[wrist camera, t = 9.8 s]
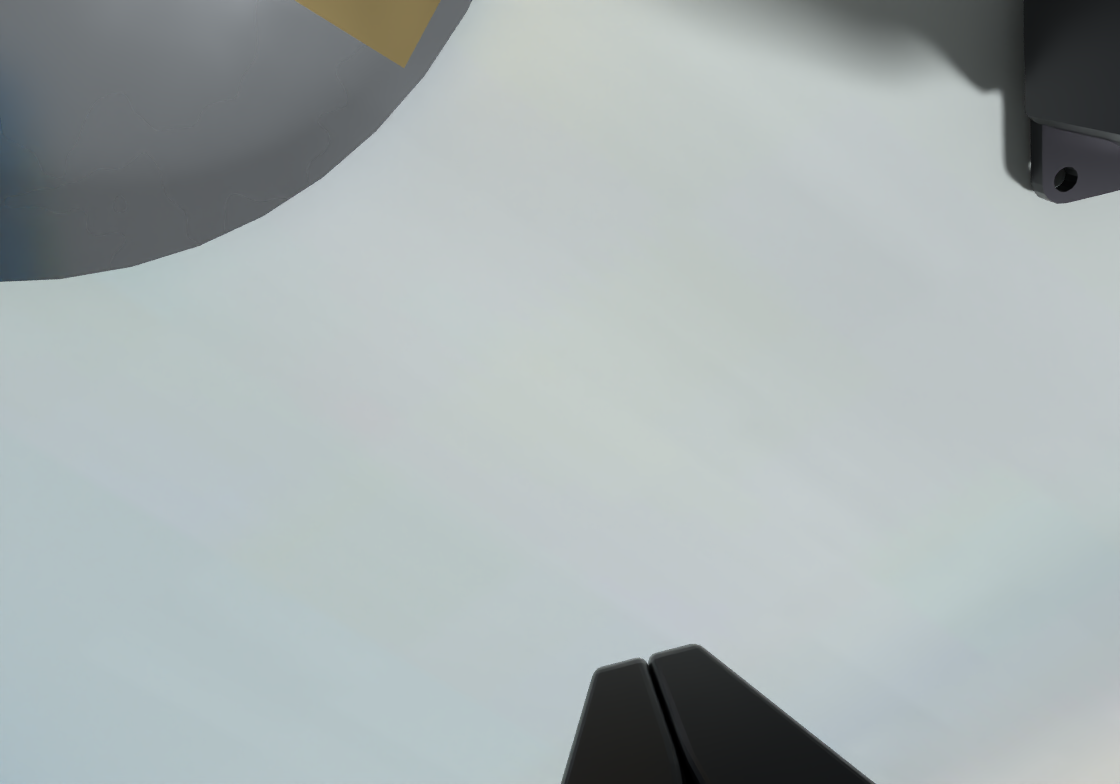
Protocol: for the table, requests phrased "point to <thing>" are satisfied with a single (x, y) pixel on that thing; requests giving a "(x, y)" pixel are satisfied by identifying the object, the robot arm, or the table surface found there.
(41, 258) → the flange plate
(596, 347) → the table surface
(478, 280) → the table surface
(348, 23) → the ring nut
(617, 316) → the table surface
